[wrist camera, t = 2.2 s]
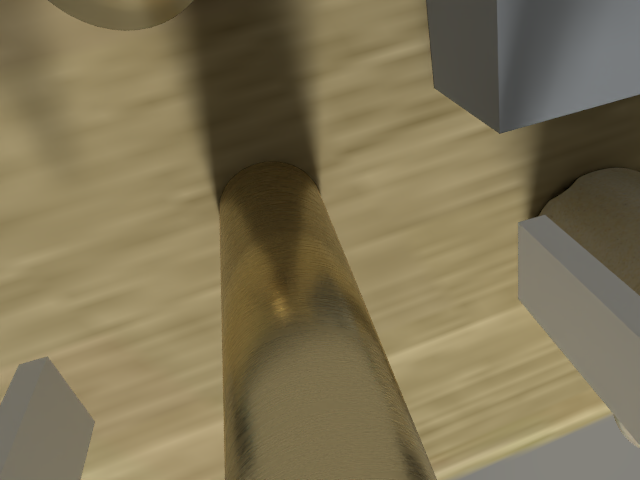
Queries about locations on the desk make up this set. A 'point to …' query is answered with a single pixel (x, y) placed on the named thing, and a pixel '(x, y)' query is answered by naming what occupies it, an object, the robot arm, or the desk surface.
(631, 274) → the flower pot
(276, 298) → the long pin
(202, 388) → the desk surface
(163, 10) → the short pin
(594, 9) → the slate block
